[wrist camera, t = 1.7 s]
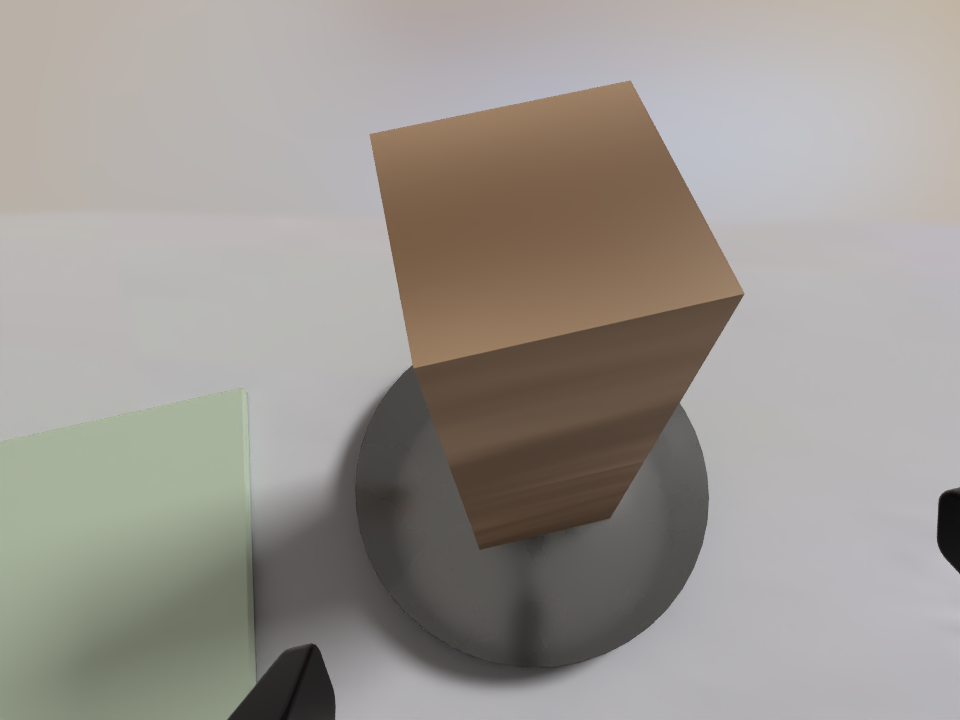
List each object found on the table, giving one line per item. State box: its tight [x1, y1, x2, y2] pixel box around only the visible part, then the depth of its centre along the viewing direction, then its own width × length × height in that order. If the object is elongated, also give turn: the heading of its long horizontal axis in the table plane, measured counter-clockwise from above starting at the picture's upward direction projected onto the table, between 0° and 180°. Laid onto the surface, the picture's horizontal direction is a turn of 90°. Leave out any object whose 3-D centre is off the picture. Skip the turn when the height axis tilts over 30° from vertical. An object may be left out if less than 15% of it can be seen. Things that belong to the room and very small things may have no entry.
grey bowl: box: [356, 365, 709, 667], centre depth 19 cm, size 12×12×5 cm
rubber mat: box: [0, 388, 256, 720], centre depth 20 cm, size 12×10×1 cm
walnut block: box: [370, 81, 744, 550], centre depth 14 cm, size 4×4×13 cm
